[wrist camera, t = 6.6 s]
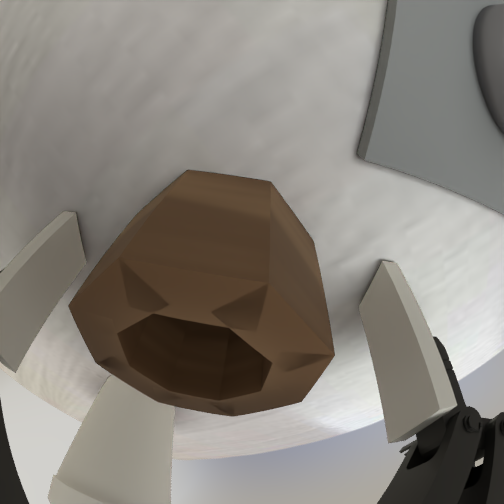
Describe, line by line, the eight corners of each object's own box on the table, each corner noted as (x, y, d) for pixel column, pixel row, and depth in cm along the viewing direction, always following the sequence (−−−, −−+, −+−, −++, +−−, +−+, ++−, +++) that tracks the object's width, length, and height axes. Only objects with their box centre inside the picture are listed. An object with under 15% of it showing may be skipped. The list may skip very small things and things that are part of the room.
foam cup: (76, 369, 19) (33, 486, 9) (128, 354, 16) (76, 527, 5) (149, 416, 24) (125, 519, 13) (215, 411, 20) (196, 546, 10)
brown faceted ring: (147, 301, 13) (110, 388, 9) (135, 164, 9) (45, 242, 5) (285, 324, 13) (285, 421, 9) (328, 192, 9) (370, 296, 5)
